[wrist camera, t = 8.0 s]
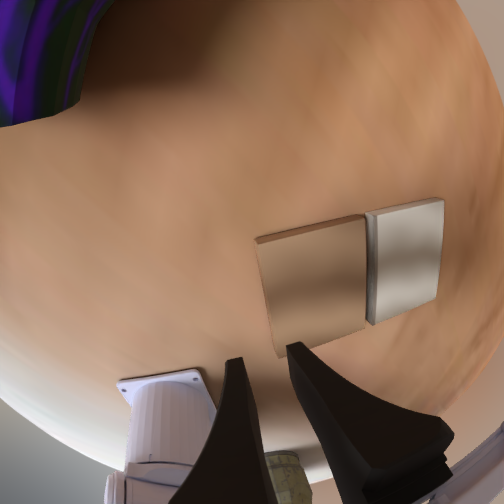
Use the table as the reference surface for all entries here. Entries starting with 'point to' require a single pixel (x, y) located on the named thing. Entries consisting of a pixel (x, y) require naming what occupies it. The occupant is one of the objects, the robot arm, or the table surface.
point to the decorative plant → (44, 55)
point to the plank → (314, 282)
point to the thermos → (288, 478)
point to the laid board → (402, 257)
